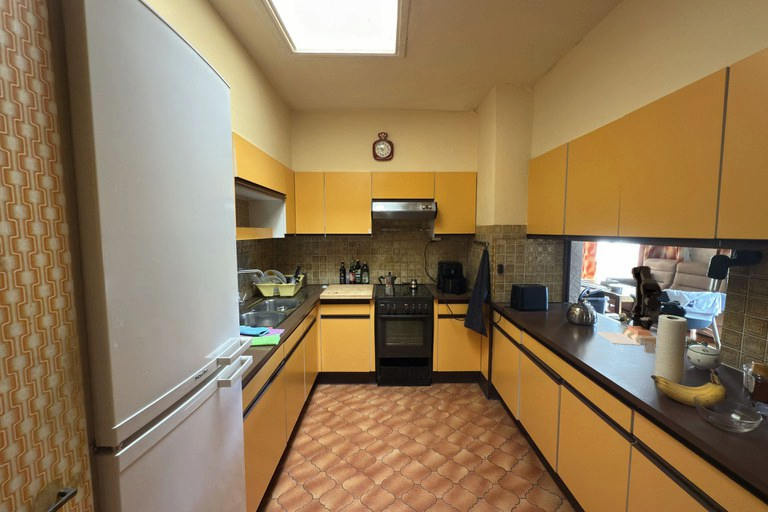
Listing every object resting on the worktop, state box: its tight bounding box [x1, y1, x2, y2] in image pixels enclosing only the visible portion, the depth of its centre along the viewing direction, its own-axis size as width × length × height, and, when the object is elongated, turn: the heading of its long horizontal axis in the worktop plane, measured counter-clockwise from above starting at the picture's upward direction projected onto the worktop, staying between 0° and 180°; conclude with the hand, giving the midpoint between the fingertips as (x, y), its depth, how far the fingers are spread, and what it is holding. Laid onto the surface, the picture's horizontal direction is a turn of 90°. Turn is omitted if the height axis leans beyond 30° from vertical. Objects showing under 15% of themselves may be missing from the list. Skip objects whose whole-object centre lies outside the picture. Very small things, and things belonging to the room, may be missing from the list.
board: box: [622, 327, 657, 346], centre depth 169 cm, size 16×9×4 cm, turn 169°
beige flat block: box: [638, 336, 657, 354], centre depth 152 cm, size 7×2×8 cm, turn 67°
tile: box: [627, 325, 651, 336], centre depth 169 cm, size 9×6×2 cm, turn 169°
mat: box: [596, 331, 641, 346], centre depth 171 cm, size 18×13×1 cm
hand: (646, 331), depth 168 cm, fingers closed
